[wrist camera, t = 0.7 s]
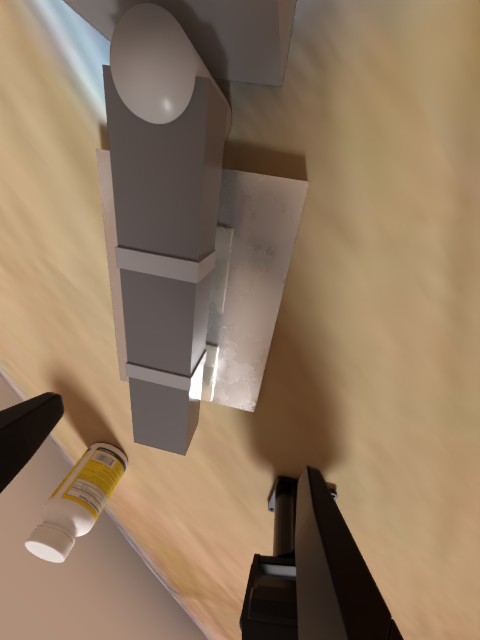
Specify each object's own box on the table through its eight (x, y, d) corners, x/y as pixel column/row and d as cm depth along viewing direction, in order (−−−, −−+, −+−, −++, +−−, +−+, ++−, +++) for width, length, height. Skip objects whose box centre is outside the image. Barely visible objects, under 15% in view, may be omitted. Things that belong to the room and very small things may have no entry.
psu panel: (255, 402, 23) (253, 414, 22) (127, 372, 25) (118, 381, 23) (307, 182, 15) (309, 181, 14) (108, 151, 16) (92, 147, 15)
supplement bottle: (102, 469, 34) (37, 563, 25) (82, 441, 31) (4, 533, 23) (136, 469, 32) (80, 570, 24) (118, 440, 30) (50, 539, 21)
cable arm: (210, 395, 24) (184, 459, 18) (168, 385, 24) (130, 445, 18) (245, 90, 13) (213, 9, 8) (172, 81, 14) (88, -3, 8)
